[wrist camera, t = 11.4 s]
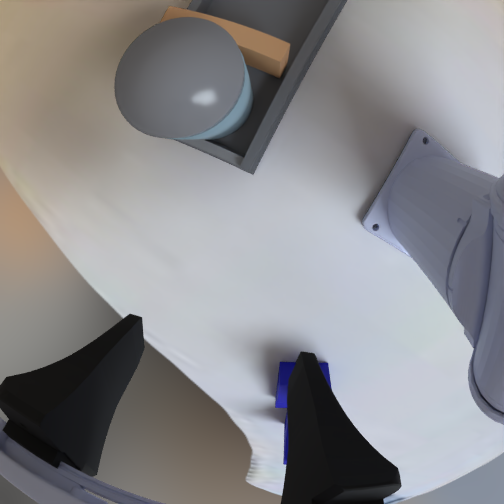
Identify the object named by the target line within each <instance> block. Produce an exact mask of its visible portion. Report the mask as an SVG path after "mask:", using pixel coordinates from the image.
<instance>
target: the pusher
mask: <svg viewBox="0 0 504 504" xmlns="http://www.w3.org/2000/svg"><path fill="white" fill-rule="evenodd" d="M180 17H196V18H202V19H206V20H209V21H211V22H214V23H216V24H218V25H219V26H221V27H222V28H224V29H225V30H226V31H227V32H228V33H229V34H230V35H231V36H232V37H233V39H234V40H235V41H236V43H237V45H238V47H239V49H240V51H241V53H242V55H243V57H244V61H245V64H246V65H249V66H251V67H254V68H256V69H259V70H261V71H263V72H266V73H268V74H270V75H273V76H275V77H277V78H279V79H280V77H281V76H282V74H283V72H284V70H285V68H286V66H287V63H288V56H289V50H290V43H287V42H285V41H283V40H280V39H278V38H276V37H273V36H271V35H268V34H265V33H263V32H260V31H258V30H255V29H252V28H249V27H246V26H243V25H240V24H237V23H234V22H231V21H228V20H225V19H221V18H218V17H214V16H211V15H207V14H203V13H199V12H195V11H191V10H186V9H182V8H177V7H172V6H169V7H168V9H167V11H166V12H165V14H164V16H163V18H162V19H161V21H160V23H161V22H163V21H166V20H170V19H174V18H180Z"/></svg>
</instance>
